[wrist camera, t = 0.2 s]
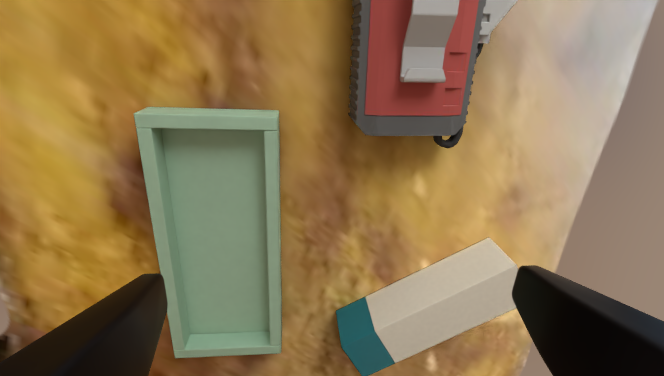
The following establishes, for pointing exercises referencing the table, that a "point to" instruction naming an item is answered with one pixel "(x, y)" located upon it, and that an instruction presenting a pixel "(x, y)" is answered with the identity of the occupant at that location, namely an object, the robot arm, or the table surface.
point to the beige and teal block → (427, 307)
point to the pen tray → (216, 225)
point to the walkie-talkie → (417, 64)
